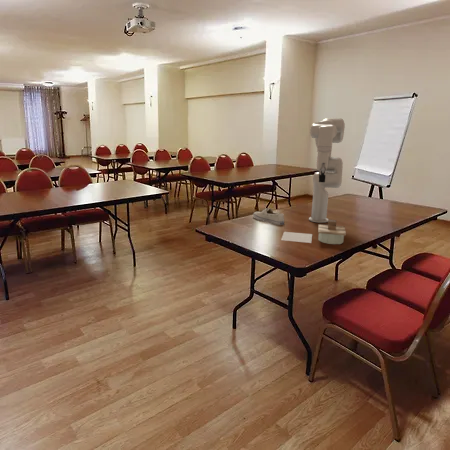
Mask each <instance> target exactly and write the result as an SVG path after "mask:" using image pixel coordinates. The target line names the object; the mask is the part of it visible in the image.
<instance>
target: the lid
mask: <svg viewBox="0 0 450 450" xmlns="http://www.w3.org/2000/svg"><path fill="white" fill-rule="evenodd" d="M317 225H318V226H317V227H318V229H317V234H319V233H322V234H334V235H344V236H346V235H347V232H346V227H345V226H343V225H337V219H329V221H328V222H327V224H322V223H319V224H317Z"/></svg>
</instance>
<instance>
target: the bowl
mask: <svg viewBox="0 0 450 450" xmlns="http://www.w3.org/2000/svg"><path fill="white" fill-rule="evenodd" d="M344 239H345V235H334V234H322V233H318V241H319V242H321V243H324V244H329V245H341V244H344Z"/></svg>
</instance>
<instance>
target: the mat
mask: <svg viewBox="0 0 450 450" xmlns="http://www.w3.org/2000/svg"><path fill="white" fill-rule="evenodd" d="M312 238H313V233H304V232H291V231H283V234H282V236H281V239H280V240H281V241H287V242H294V243H295V242H298V243H306V244H307V243H309V244H312Z"/></svg>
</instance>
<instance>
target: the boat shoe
mask: <svg viewBox="0 0 450 450" xmlns="http://www.w3.org/2000/svg"><path fill="white" fill-rule="evenodd" d="M252 216H253V218H254V219H255V220H258V221H262V222H266V223H267V222H268V223H270V224H273V225H276V226H282V225H283V226H284V225H285V214H284V213H277V212H274V210H273V209H272V208H271V207H269V208H268V207H267V208H264V209H263V210H262V211H255V212H253V214H252Z"/></svg>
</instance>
